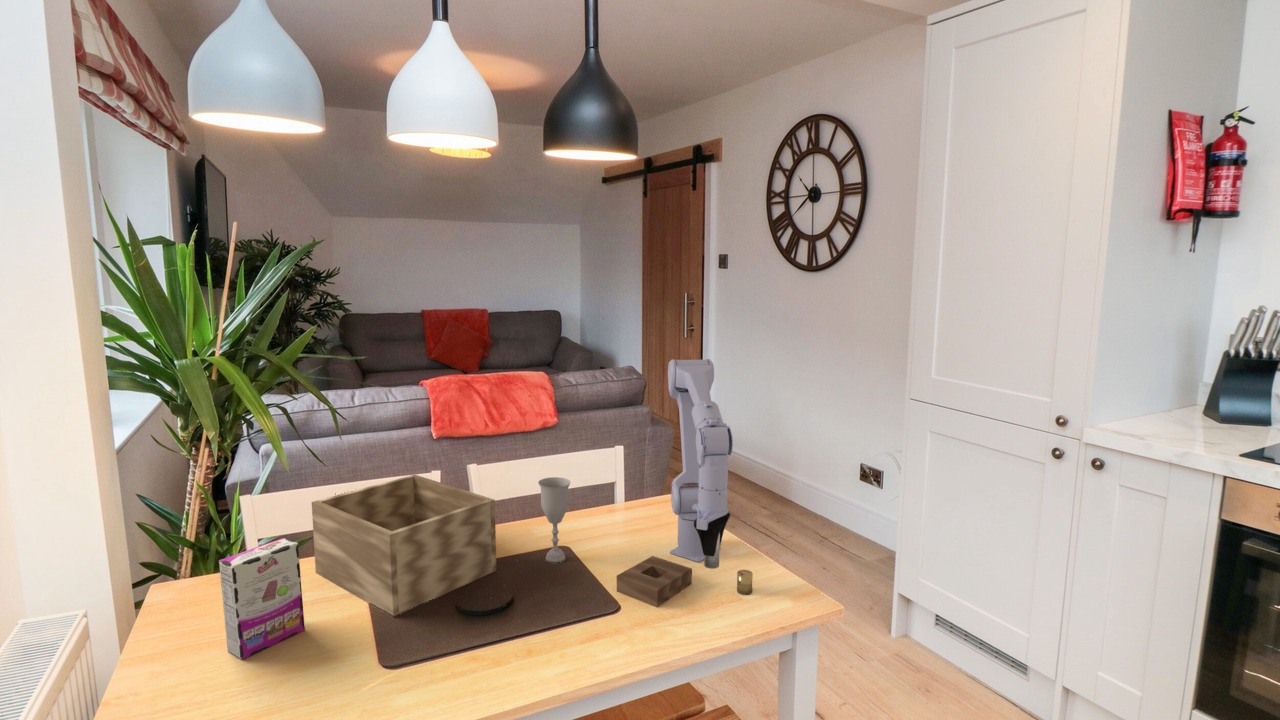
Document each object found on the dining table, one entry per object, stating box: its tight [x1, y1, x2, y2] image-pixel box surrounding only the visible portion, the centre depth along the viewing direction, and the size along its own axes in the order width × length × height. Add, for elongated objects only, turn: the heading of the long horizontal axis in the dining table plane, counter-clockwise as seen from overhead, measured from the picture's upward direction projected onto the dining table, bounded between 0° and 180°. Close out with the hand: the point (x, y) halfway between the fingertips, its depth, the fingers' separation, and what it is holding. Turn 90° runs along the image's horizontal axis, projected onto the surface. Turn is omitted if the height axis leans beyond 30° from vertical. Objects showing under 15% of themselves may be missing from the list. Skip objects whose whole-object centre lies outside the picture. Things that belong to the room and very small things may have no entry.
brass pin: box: [736, 569, 754, 596], centre depth 134 cm, size 3×3×4 cm
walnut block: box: [616, 555, 693, 608], centre depth 135 cm, size 12×10×4 cm
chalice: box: [537, 476, 572, 562], centre depth 147 cm, size 7×7×18 cm
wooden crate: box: [311, 474, 497, 615], centre depth 140 cm, size 24×28×16 cm
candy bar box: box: [218, 537, 306, 660], centre depth 114 cm, size 11×5×16 cm, turn 148°
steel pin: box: [703, 533, 721, 570], centre depth 135 cm, size 3×3×7 cm
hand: (711, 551), depth 135 cm, fingers closed on steel pin, 3 cm apart
